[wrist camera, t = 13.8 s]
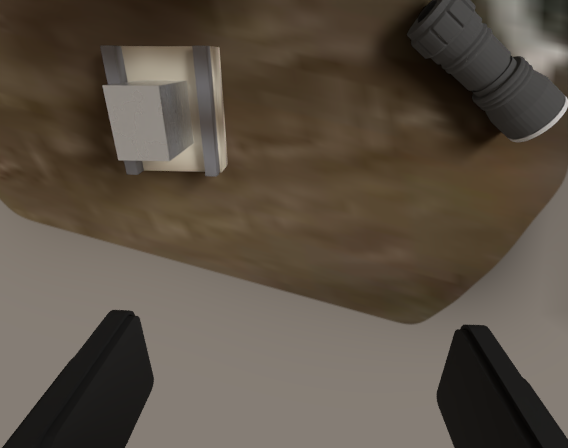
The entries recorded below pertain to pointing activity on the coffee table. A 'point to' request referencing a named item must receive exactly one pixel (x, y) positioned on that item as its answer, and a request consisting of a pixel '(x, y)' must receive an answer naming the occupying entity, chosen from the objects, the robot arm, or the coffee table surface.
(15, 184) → the coffee table surface
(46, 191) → the coffee table surface
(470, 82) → the flashlight
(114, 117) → the tall white block
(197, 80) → the cradle
